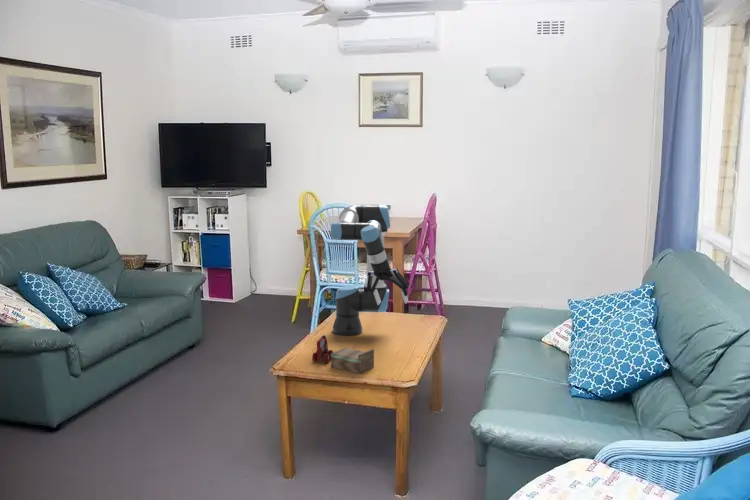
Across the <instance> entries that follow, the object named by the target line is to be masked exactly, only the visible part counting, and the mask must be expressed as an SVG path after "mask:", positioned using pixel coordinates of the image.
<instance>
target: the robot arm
mask: <svg viewBox="0 0 750 500" xmlns="http://www.w3.org/2000/svg"><path fill="white" fill-rule="evenodd" d="M388 229H391V222H390V212H389V207H388V206H387V205H385V204H384V205H383V204H354V205H350V206H347V207H346V208H344V209H343V210H342V211H341V212H340V213H339V216H338V221H337V222H332V223H331V225H330V238H331V240H334V241H335V240H337V241H342V240H343V241H344V240H345V241H346V240H347V241H348V240H349V241H362V242H363V245H364V247H365V251H366V282H365V283H364V284H363V288H360V286H359V285H356V284H351V285H345V286H340V287H339V288H337V290H336V295H335V296H336V297H335V300H336V301H335V303H336V305H335V306H336V309H335V310H336V311H335V319H334V323H333V325H332V333H334V334H336V335H338V336H339V335H341V336H354V335H355V336H356V335H359V334H361V333H363V325H362V321H361V318H360V313H384V312H386V311H387V309H388V304H389V303H388V302H389V298H390V297H389V294H390V289H389V288H387V284H386V283H385V282H384V281H390V282H391V283H393V284H394V285H396V286H397V287H398V288H400V289H401V290H400V294H401V296H402V298H403V303H404V304H407V303H408V301H409V297H408V295H409V292H408V289H409V286H410V285H411V284H410V282H408V280H407V279H406V278H405V277H404V275H402V274H401V273H400V271H399V269H398V267H395V268H393V269H391V267H390V263H389V259H388V258H387V257H388V256H387V252H386V251H385V235H386V234H387V233H388Z"/></svg>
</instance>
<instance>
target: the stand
mask: <svg viewBox="0 0 750 500" xmlns="http://www.w3.org/2000/svg"><path fill="white" fill-rule="evenodd" d="M330 361H331V363H330V366H331V368H335V369H338V370H342V371H346V372H350V373H354V374H359V375H362V374H363V373H365V372H368V371H369V370H372V369H373V368H375V349H374V348H371V349H368V350H366V351H363V350H358V349H355V348H349V347H343V348H341V349H339V350H336V351H333V353H331V359H330Z"/></svg>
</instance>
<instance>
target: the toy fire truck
mask: <svg viewBox="0 0 750 500" xmlns="http://www.w3.org/2000/svg"><path fill="white" fill-rule="evenodd" d="M316 348H317V349H316V352H313V353H312V356H311V358H312V359H311V360H312V362H313V363H317V362H318V361H323V362H324V363H325V364H329V363H330V360H331V353H333V352H334V351H333V350H332V349H329V344H328V340H327V337H326V336H325V335H322V336H321V337H319V339H317V341H316Z"/></svg>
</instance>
